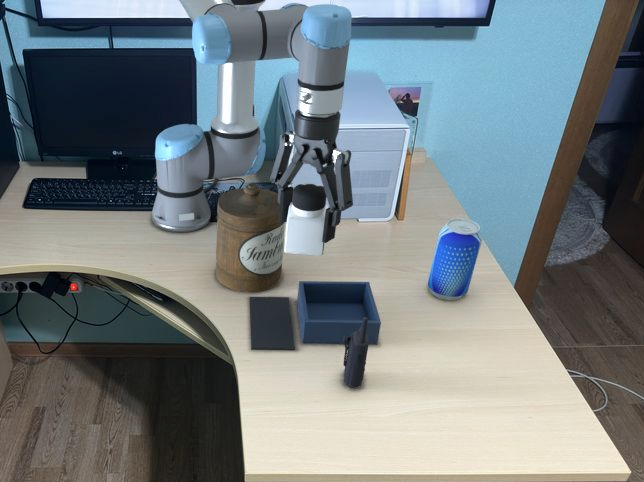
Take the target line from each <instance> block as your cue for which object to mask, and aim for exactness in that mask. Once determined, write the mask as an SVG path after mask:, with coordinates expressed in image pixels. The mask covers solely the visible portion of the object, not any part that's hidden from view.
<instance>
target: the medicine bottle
mask: <svg viewBox="0 0 644 482" xmlns="http://www.w3.org/2000/svg"><path fill="white" fill-rule="evenodd" d="M326 203H327V196H326V193H325V190H324V186H323V184H320V183H317V182H311V181H309V182H301V183H298V184H297V185H295V186H294V188H293V198H292V202H291V203H290V205H289V211H288V217H287V221H286V224H285V237H284V249H283V252H284V253H285V254H291V255H303V256H304V255H305V256H316V257H322V256H323V255H324V250H325V243H324V242H322V238H323V229H324V221H325V212H326V209H327V208H329V204H326Z"/></svg>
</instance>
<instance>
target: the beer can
mask: <svg viewBox="0 0 644 482" xmlns="http://www.w3.org/2000/svg"><path fill="white" fill-rule="evenodd" d="M482 242H483V236H482V232H481V226H480V224H479V223H478V222H476V221H474V220H472V219H468V218H463V217H455V218H450V219H449V220H447V222H446V224H445V225H444V226H443V227H442V228H441V229H440V231H439V232H438V238H437V242H436V246H435V250H434V254H433V259H432V263H431V268H430V271H429V275H428V280H427V288H428V289H429V291H430V293H431V294H432V295H433V296H434V297H436V298H438V299H441V300H445V301H455V300H459V299H461V298H462V297H463V296H465V295H466V294H467V293H468V291H469V288H470V284H471V281H472V277H473V274H474V270H475V267H476V263H477V259H478V257H479V253H480V249H481V246H482Z"/></svg>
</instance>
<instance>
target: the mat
mask: <svg viewBox="0 0 644 482" xmlns="http://www.w3.org/2000/svg"><path fill="white" fill-rule="evenodd" d="M290 303H291V302H290V297H288V296H249V320H250V321H249V322H250V323H249V324H250V326H249V327H250V349H251V350H252V351H253V350H254V351H255V350H256V351H258V350H260V351H295V350H296V345H295V338H294V337H295V335H294V329H293V320H292V313H291V304H290Z"/></svg>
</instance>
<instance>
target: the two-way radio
mask: <svg viewBox="0 0 644 482" xmlns="http://www.w3.org/2000/svg"><path fill="white" fill-rule="evenodd" d="M367 322H368V318H367V317H364V318H363V322H362V326H361V327H360V328H359V331H356V332H353V333H352V335H351V336H350V338H349V337H348V336H344V338H343V343H344V344H343V345H344V355H343V363H342V364H343V366H344V371H343V381H344V384H345V385H346V386H348V387H350V388H360V387H361V386H362V383H363V380H364V374H365V371H366V364H367V358H368V357H367V356H368V351H369V346H370V344H369V337H368V334H367V333H366V330H367Z"/></svg>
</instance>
